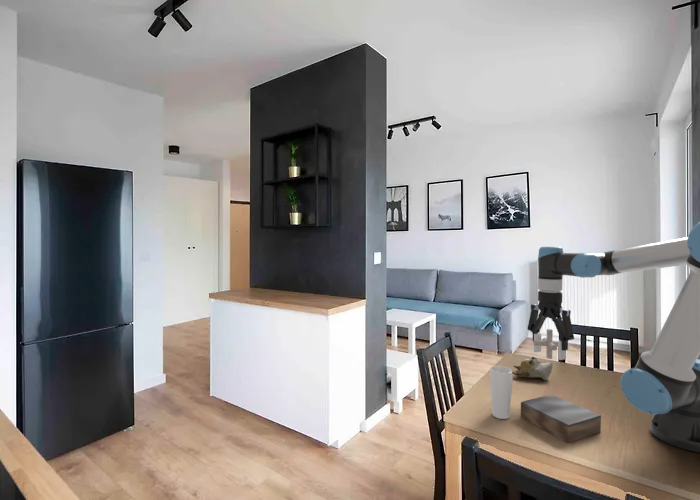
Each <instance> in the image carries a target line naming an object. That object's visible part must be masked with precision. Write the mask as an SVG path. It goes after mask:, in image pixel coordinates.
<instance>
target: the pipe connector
mask: <svg viewBox="0 0 700 500" xmlns="http://www.w3.org/2000/svg"><path fill="white" fill-rule="evenodd" d="M553 334H554V330H553V329H552V328H547V329H546V337H544V338H542V340H541V341H538V340H534V342H533V341H532V342H533V346H534V345H535V346H541V347H546V359H549V360H551V359H553V352H554V351H558V345H559V340H555V341H554V340H553Z"/></svg>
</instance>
